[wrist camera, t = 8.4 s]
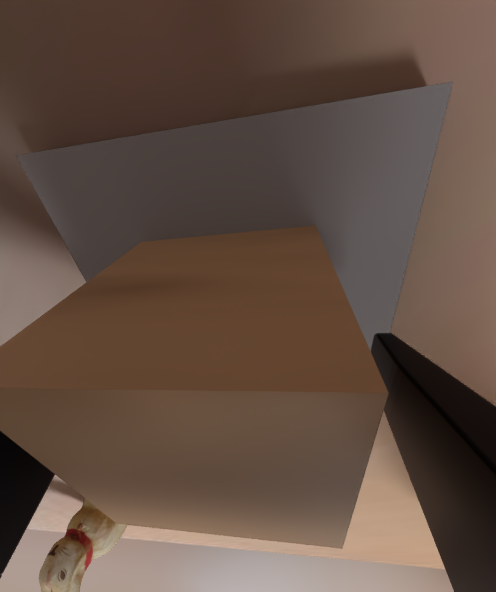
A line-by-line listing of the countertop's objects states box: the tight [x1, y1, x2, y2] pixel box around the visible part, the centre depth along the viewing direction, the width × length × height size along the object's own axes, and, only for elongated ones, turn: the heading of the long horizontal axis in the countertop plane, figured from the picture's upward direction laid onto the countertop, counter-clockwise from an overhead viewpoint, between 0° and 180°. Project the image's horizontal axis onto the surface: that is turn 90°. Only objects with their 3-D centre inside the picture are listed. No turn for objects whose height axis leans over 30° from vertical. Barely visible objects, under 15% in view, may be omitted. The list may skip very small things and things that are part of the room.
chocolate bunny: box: [39, 498, 127, 592], centre depth 26 cm, size 6×8×10 cm
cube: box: [0, 225, 388, 549], centre depth 7 cm, size 6×6×6 cm
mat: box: [16, 82, 453, 352], centre depth 10 cm, size 12×12×1 cm
